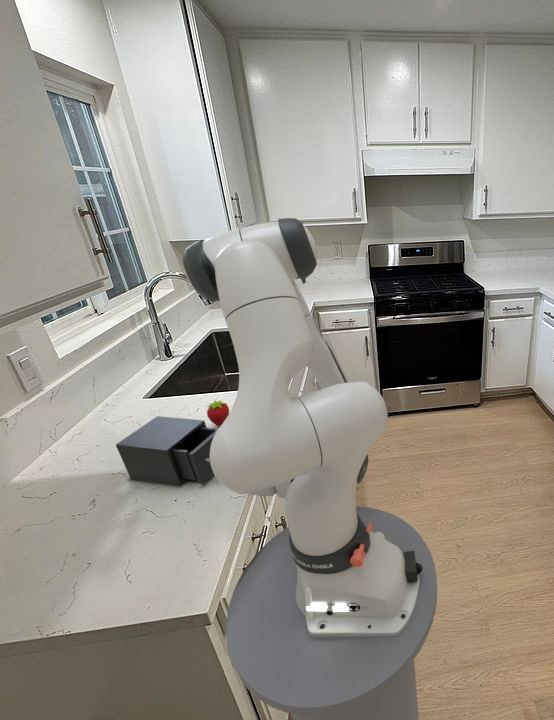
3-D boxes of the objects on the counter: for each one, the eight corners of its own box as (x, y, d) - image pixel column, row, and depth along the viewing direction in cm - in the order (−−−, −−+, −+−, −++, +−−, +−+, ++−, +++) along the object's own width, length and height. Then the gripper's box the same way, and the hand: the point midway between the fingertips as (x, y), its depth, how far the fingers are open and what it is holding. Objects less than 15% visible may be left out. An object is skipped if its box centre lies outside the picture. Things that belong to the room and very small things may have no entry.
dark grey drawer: (246, 455, 102) (239, 427, 98) (218, 486, 92) (208, 456, 88) (189, 449, 106) (179, 422, 102) (155, 478, 96) (143, 449, 92)
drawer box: (215, 453, 105) (204, 420, 101) (180, 485, 94) (166, 450, 89) (169, 448, 108) (157, 416, 104) (130, 479, 97) (115, 444, 92)
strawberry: (233, 418, 121) (225, 390, 117) (232, 431, 114) (224, 401, 110) (213, 422, 119) (204, 394, 115) (210, 436, 113) (201, 406, 108)
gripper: (317, 425, 99) (269, 421, 102) (275, 481, 81) (217, 473, 84) (321, 445, 101) (273, 441, 104) (280, 503, 83) (224, 496, 86)
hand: (248, 456), depth 94 cm, fingers closed
